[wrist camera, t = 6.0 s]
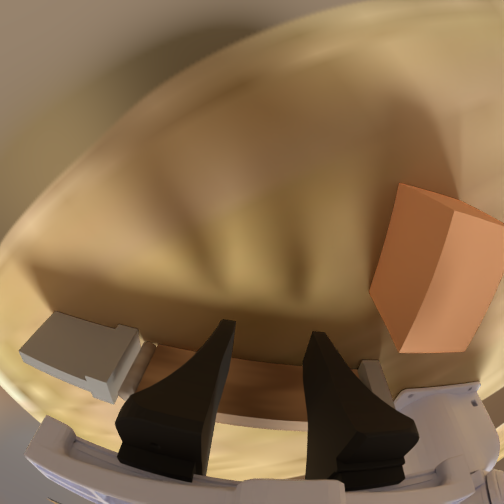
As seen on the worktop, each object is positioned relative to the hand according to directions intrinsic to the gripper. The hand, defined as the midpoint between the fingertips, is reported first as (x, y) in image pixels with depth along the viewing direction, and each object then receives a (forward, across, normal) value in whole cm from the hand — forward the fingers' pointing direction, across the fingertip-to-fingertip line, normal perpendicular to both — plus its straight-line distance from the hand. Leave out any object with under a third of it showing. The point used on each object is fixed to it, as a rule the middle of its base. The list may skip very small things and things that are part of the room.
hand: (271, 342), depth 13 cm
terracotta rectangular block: (+2, -7, -5) cm, 9 cm away
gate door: (+2, +7, +4) cm, 8 cm away
